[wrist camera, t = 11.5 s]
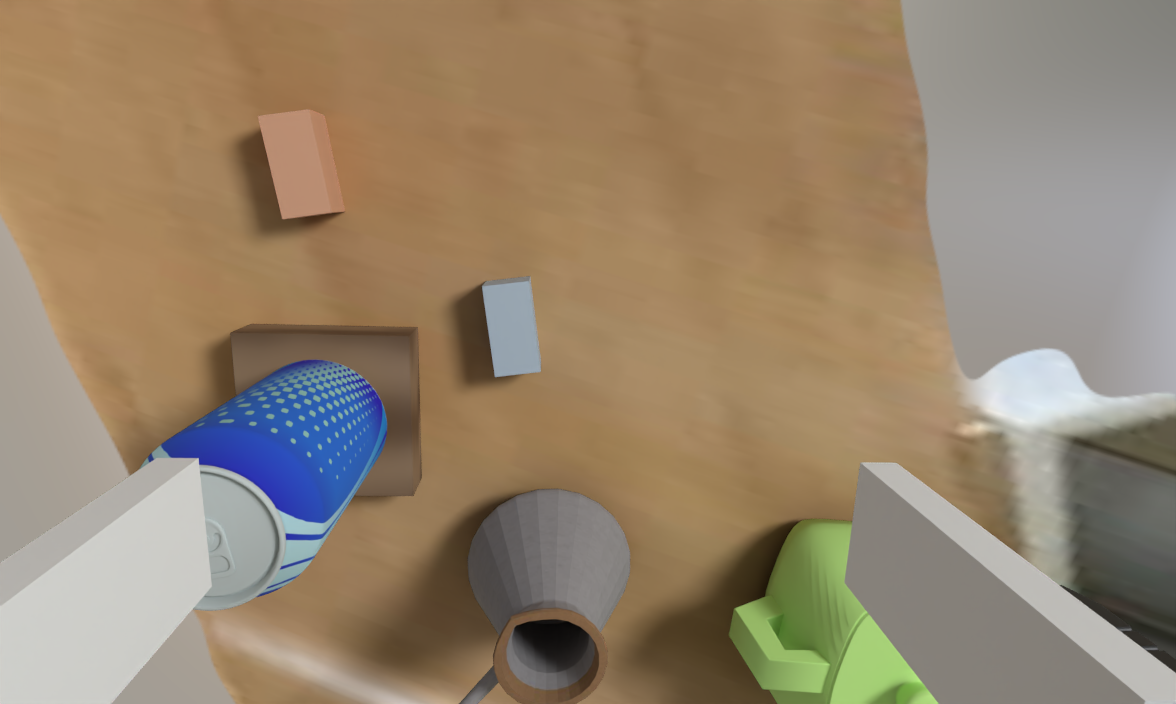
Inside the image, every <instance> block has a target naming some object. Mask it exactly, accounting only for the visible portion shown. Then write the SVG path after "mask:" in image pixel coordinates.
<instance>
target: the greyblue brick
mask: <svg viewBox="0 0 1176 704" xmlns="http://www.w3.org/2000/svg"><path fill="white" fill-rule="evenodd" d="M482 290H483V297H484V304H485V311H486V318H487V325H488V332H489V339H490V346H491V353H492V360H493V367H494V374H495V377H500V376H509V375H517V374H526V373H534V372H541V358H540V350H539V342H538V334H537V327H536V319H535V311H534V303H533V295H532V287H531V279H530V276H527V277H518V278H510V279H501V280H492V281H486V282H485V283H484V284H483V286H482Z"/></svg>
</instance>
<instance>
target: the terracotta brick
mask: <svg viewBox="0 0 1176 704" xmlns="http://www.w3.org/2000/svg"><path fill="white" fill-rule="evenodd" d="M258 119H259V123H260V128H261V132H262V136H263V140H264V144H265V149H266V153H267V157H268V161H269V165H270V169H271V174H272V178H273V182H274V186H275V190H276V195H277V199H278V203H279V207H280V211H281V216H282V219H292V218H302V217H309V216H317V215H324V214H331V213H339V212H345V209H344V204H343V199H342V195H341V190H340V185H339V181H338V176H337V172H336V167H335V162H334V158H333V153H332V148H331V144H330V139H329V134H328V130H327V125H326V121H325V116H324V115H323V114H320V113H317V112H315V111H312V110H309V109H308V110H300V111H293V112H285V113H278V114H270V115H262V116H258Z"/></svg>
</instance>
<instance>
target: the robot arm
mask: <svg viewBox="0 0 1176 704" xmlns="http://www.w3.org/2000/svg"><path fill="white" fill-rule="evenodd" d="M844 583H845V584H846V585H847V587H848V588H849V589H850V591H851V592H852V593H853V594H854V596H855V597H856V598H857V600H858V601H859V602H860V603H861V605H862V606H863V607H864V608H865V610H866V611H867V612H868V614H869V615H870V616H871V617H872V619H873V620H874V621H875V623H876V624H877V625H878V626H879V628H880V629H881V630H882V632H883V633H884V634H885V635H886V637H887V638H888V639H889V641H890V642H891V643H892V644H893V646H894V647H895V648H896V650H897V651H898V652H899V653H900V655H901V656H902V657H903V659H904V660H905V661H906V662H907V664H908V665H909V666H910V668H911V669H912V670H913V671H914V673H915V674H916V675H917V676H918V678H919V679H920V680H921V682H922V683H923V684H924V685H925V687H926V688H927V689H928V691H929V692H930V693H931V694H932V696H933V697H934V698H935V700H936V701H937V702H938V703H939V704H1176V659H1174V658H1173V657H1172V656H1170V655H1169V654H1168V653H1166V652H1165V651H1159V650H1158V649H1157V645H1155V644H1154V643H1153V642H1151V641H1150V640H1148V639H1147V638H1146V637H1144V636H1143V635H1142V634H1140V633H1139V632H1137V631H1132V630H1131V626H1129V625H1128V624H1127V623H1125V622H1124V621H1122V620H1121V619H1120V618H1118V617H1117V616H1116V615H1114V614H1113V613H1111V612H1110V611H1109V610H1107V609H1106V608H1105V607H1103V606H1102V605H1101V604H1099V603H1097V602H1095V601H1093V600H1091V599H1089V598H1087V597H1085V596H1083V595H1081V594H1079V593H1077V592H1075V591H1073V590H1071V589H1068V588H1066V587H1064V586H1062V585H1058V584H1057V583H1055V582H1054V581H1053V580H1051V579H1050V578H1049V577H1047V576H1046V575H1045V574H1043V573H1042V572H1041V571H1039V570H1038V569H1037V568H1035V567H1034V566H1033V565H1032V564H1030V563H1029V562H1028V561H1026V560H1025V559H1024V558H1022V557H1021V556H1020V555H1018V554H1017V553H1016V552H1014V551H1013V550H1012V549H1010V548H1009V547H1008V546H1006V545H1005V544H1004V543H1002V542H1001V541H1000V540H998V539H997V538H996V537H994V536H993V535H992V534H990V533H989V532H988V531H986V530H985V529H984V528H982V527H981V526H980V525H978V524H977V523H976V522H974V521H973V520H972V519H970V518H969V517H968V516H966V515H965V514H964V513H962V512H961V511H960V510H958V509H957V508H956V507H954V506H953V505H952V504H950V503H949V502H948V501H946V500H945V499H944V498H942V497H941V496H940V495H938V494H937V493H936V492H934V491H933V490H932V489H930V488H929V487H928V486H926V485H925V484H924V483H922V482H921V481H920V480H918V479H917V478H916V477H914V476H913V475H912V474H910V473H909V472H908V471H906V470H905V469H904V468H902V467H901V466H900V465H898V464H897V463H860V469H859V476H858V484H857V491H856V499H855V506H854V514H853V521H852V529H851V536H850V544H849V551H848V559H847V566H846V573H845V581H844ZM211 587H212V582H211V572H210V563H209V553H208V544H207V534H206V525H205V516H204V506H203V497H202V487H201V478H200V468H199V459H198V458H156V459H154V460H153V461H151V462H150V463H148V464H147V465H145V466H144V467H142V468H141V469H139V470H138V471H136V472H135V473H133V474H132V475H130V476H129V477H127V478H126V479H124V480H123V481H122V482H120V483H118V484H117V485H115V486H114V487H112V488H111V489H110V490H108V491H107V492H105V493H103V494H102V495H100V496H99V497H97V498H96V499H94V500H93V501H91V502H90V503H89V504H87V505H86V506H84V507H83V508H81V509H80V510H78V511H76V512H75V513H74V514H72V515H71V516H69V517H68V518H66V519H65V520H63V521H62V522H60V523H59V524H57V525H56V526H54V527H53V528H51V529H50V530H48V531H47V532H45V533H44V534H42V535H41V536H39V537H38V538H36V539H35V540H33V541H32V542H30V543H29V544H27V545H26V546H24V547H23V548H21V549H20V550H18V551H17V552H15V553H14V554H12V555H11V556H9V557H8V558H6V559H5V560H3V561H2V562H0V704H111V703H112V702H113V701H114V700H115V699H116V698H117V696H118V695H119V694H120V693H121V692H122V691H123V689H124V688H125V687H126V686H127V685H128V684H129V682H130V681H131V680H132V679H133V678H134V677H135V676H136V674H137V673H138V672H139V671H140V670H141V668H142V667H143V666H144V665H145V664H146V663H147V662H148V660H149V659H150V658H151V657H152V656H153V655H154V653H155V652H156V651H157V650H158V649H159V648H160V646H161V645H162V644H163V643H164V642H165V641H166V639H167V638H168V637H169V636H170V635H171V634H172V632H173V631H174V630H175V629H176V628H177V626H178V625H179V624H180V623H181V622H182V621H183V620H184V618H185V617H186V616H187V615H188V614H189V613H190V611H191V610H192V609H193V608H194V607H195V606H196V604H197V603H198V602H199V601H200V600H201V599H202V598H203V596H204V595H205V594H206V593H207V592H208V591H209V589H210V588H211Z"/></svg>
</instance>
